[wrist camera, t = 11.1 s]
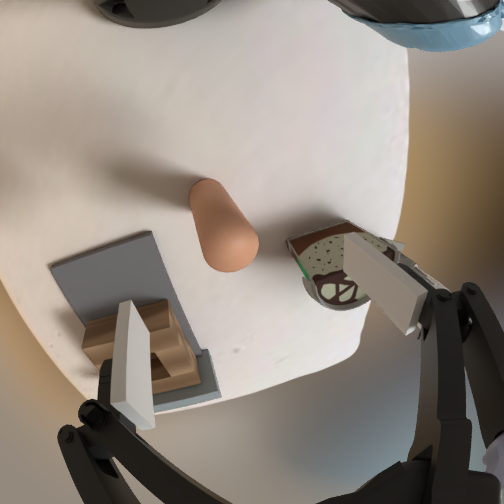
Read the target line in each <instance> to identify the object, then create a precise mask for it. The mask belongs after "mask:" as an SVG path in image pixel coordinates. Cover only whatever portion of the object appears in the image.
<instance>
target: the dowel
mask: <svg viewBox="0 0 504 504" xmlns="http://www.w3.org/2000/svg"><path fill="white" fill-rule="evenodd" d="M189 202H190V206H191V210H192V214H193V218H194V222H195V226H196V230H197V233H198V237H199V241H200V245H201V249H202V252H203V256H204V259H205V261H206V262H207V263H208V265H209V266H210V267H212V268H213V269H215V270H217V271H221V272H234V271H238V270H240V269H243V268H244V267H246V266H247V265H248V264H250V263H251V262H252V260H253V259H254V258H255V256H256V254H257V251H258V247H259V240H258V236H257V234H256V232H255V231H254V229H253V228H252V226H251V225H250V224H249V222H248V221H247V219H246V218H245V217H244V215H243V214H242V212H241V211H240V210H239V208H238V207H237V205H236V204H235V203H234V201H233V200H232V198H231V197H230V196H229V194H228V193H227V192H226V190H225V189H224V187H223V186H222V185H221V184H220V183H219V182H218V181H216V180H213V179H204V180H201V181H199V182H197V183H196V184H195V185H194V186H193V187H192V188H191V190H190V193H189Z"/></svg>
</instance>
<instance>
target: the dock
mask: <svg viewBox="0 0 504 504" xmlns="http://www.w3.org/2000/svg"><path fill="white" fill-rule="evenodd" d="M50 271H51V272H52V274H53V276H54V278H55V280H56V281H57V283H58V285H59V287H60V288H61V290H62V292H63V293H64V295H65V297H66V298H67V300H68V302H69V303H70V305H71V306H72V308H73V309H74V311H75V312H76V314H77V316H78V317H79V319H80V320H81V321H82V323H83V324H84V326H85V327H86V326H87V322H88V321H92V320H96V319H100V318H103V317H107V316H111V315H114V314H118V310H119V303H122V302H125V301H128V300H132V302H133V304H134V306H135V308H139V307H143V306H147V305H150V304H154V303H157V302H161V301H164V300H168V301H169V303H170V305H171V307H172V309H173V312H174V314H175V316H176V318H177V320H178V322H179V324H180V326H181V328H182V330H183V332H184V334H185V336H186V338H187V340H188V342H189V344H190V346H191V348H192V350H193V352H194V354H195V356H196V359H197V364H198V369H199V374H200V379H201V384H197V385H193V386H189V387H185V388H181V389H176V390H172V391H167V392H163V393H158V394H153V395H152V397H153V409H154V413H155V412H161V411H166V410H171V409H176V408H180V407H185V406H189V405H193V404H197V403H202V402H205V401H209V400H213V399H217V398H221V397H222V396H221V393H220V389H219V385H218V381H217V378H216V374H215V370H214V366H213V362H212V358H211V355H210V353H209V351H208V349H206V350H203V351H201V349H200V346H199V344H198V342H197V340H196V338H195V336H194V334H193V332H192V329H191V327H190V325H189V323H188V321H187V318H186V316H185V314H184V312H183V309H182V307H181V305H180V302H179V300H178V298H177V295H176V293H175V291H174V288H173V286H172V283H171V281H170V278H169V276H168V273H167V271H166V268H165V266H164V263H163V261H162V258H161V255H160V253H159V250H158V248H157V245H156V242H155V239H154V237H153V234H152V231H150V232H147V233H144V234H141V235H138V236H135V237H132V238H129V239H126V240H122V241H119V242H116V243H114V244H111V245H108V246H105V247H102V248H99V249H96V250H93V251H90V252H87V253H85V254H82V255H79V256H76V257H74V258H71V259H68V260H65V261H63V262H60V263H57V264H55V265H52V267H51V269H50Z"/></svg>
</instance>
